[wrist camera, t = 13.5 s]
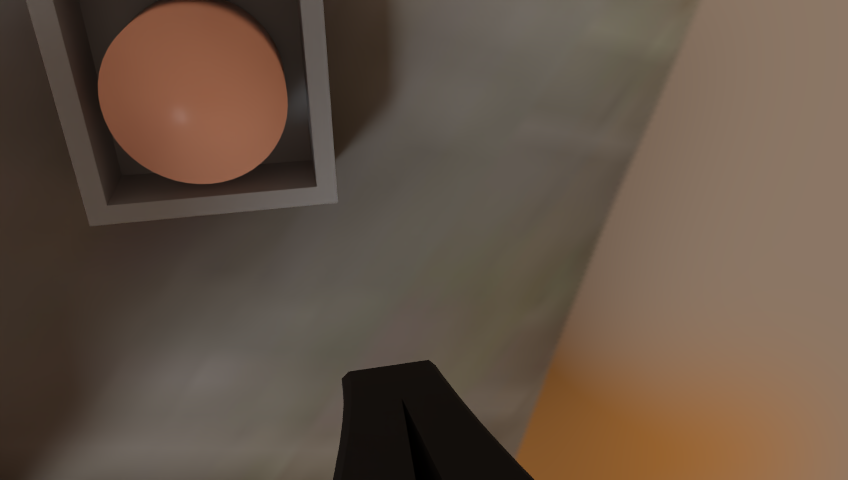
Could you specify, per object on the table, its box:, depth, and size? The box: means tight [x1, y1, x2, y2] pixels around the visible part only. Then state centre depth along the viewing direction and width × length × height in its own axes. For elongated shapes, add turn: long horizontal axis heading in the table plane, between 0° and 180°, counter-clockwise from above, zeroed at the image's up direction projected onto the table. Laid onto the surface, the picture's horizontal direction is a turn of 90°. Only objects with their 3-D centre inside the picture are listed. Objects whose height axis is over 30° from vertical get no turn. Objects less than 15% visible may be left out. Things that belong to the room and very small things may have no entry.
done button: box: [98, 0, 288, 184], centre depth 15 cm, size 4×4×2 cm
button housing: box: [26, 0, 338, 226], centre depth 16 cm, size 6×6×2 cm
